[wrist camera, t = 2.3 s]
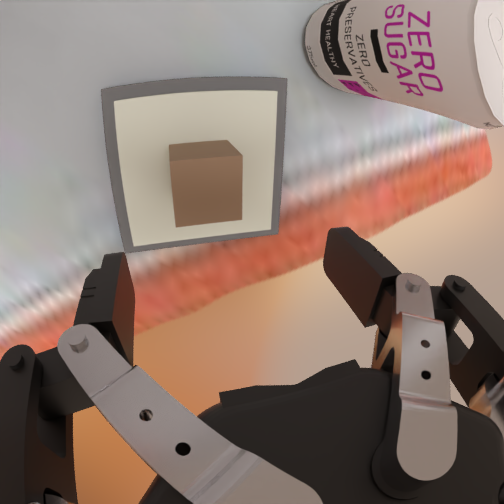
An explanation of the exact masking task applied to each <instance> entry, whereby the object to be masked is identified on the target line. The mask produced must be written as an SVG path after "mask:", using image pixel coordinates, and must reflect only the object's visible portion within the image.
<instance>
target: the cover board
mask: <svg viewBox="0 0 504 504" xmlns="http://www.w3.org/2000/svg"><path fill="white" fill-rule="evenodd" d="M277 93H278V91H268V90H219V91H197V92H182V93H171V94H161V95H152V96H144V97H136V98H129V99H123V100H117V101H114V111H115V123H116V134H117V144H118V153H119V161H120V169H121V176H122V183H123V190H124V196H125V202H126V208H127V214H128V220H129V225H130V230H131V235H132V240H133V245H134V246H141V245H149V244H156V243H164V242H171V241H179V240H187V239H195V238H203V237H211V236H220V235H228V234H236V233H245V232H254V231H262V230H271V218H272V200H273V181H274V161H275V140H276V117H277Z"/></svg>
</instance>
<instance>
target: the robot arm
mask: <svg viewBox="0 0 504 504" xmlns="http://www.w3.org/2000/svg"><path fill="white" fill-rule="evenodd" d="M323 266H324V271H325V273H326V275H327V277H328V278H329V279H330V281H331V282H332V283H333V284H334V286H335V287H336V289H337V290H338V291H339V293H340V294H341V295H342V297H343V298H344V299H345V301H346V302H347V303H348V305H349V306H350V308H351V309H352V310H353V312H354V313H355V314H356V316H357V317H358V319H359V320H360V321H361V323H362V324H363V325H364V327H369V326H372V325H375V324H377V325H378V328H377V331H376V335H375V343H374V351H373V359H372V365H371V368H360V367H359V365H358V363H357V362H356V360H355V359H354V360H351V361H348V362H345V363H341V364H338V365H335V366H331V367H328V368H325V369H323V370H322V371H320V372H318V373H316V374H315V375H313V376H311V377H309V378H307V379H306V380H304V381H302V382H300V383H298V384H295V385H276V386H275V385H274V386H252V387H246V388H241V389H236V390H230V391H225V392H220V393H219V396H220V403H218V404H216V405H214V406H212V407H210V408H208V409H206V410H205V411H204V412H202V413H201V414H199V415H198V416H197V417H196V416H195V415H194V414H193V413H191V412H190V411H189V410H188V409H187V408H185V407H184V406H183V405H182V404H181V403H179V402H178V401H177V400H176V399H175V398H173V397H172V396H171V395H170V394H169V393H168V392H167V391H165V390H164V389H163V388H162V387H161V386H160V385H159V384H158V383H157V382H155V381H154V380H153V379H152V378H151V377H150V376H149V375H148V374H147V373H146V372H144V371H143V370H142V369H141V368H140V367H139V366H137V365H135V366H134V367H133V340H134V313H135V293H134V287H133V283H132V279H131V275H130V271H129V267H128V263H127V259H126V255H125V253H124V252H119V253H112V254H105V255H104V258H103V262H102V266H101V269H93V270H92V272H91V273H90V274H89V275H88V276H87V278H86V279H85V283H84V286H83V290H82V293H81V298H80V301H79V304H78V308H77V312H76V316H75V320H74V325H73V327H71V328H69V329H67V330H66V331H65V332H64V333H63V334H62V335H61V337H60V338H59V341H58V345H57V347H55V348H53V349H50V350H47V351H44V352H41V353H38V354H35V352H34V351H33V349H32V348H31V347H29V346H27V345H17V346H14V347H12V348H10V349H9V350H8V351H7V352H6V353H5V354H4V355H3V357H2V359H1V361H0V504H78V500H77V492H76V483H75V471H74V455H73V413H75V412H77V411H80V410H83V409H86V408H89V407H92V406H96V407H97V409H98V410H99V411H100V412H101V414H102V415H103V416H104V417H105V419H106V420H107V421H108V422H109V423H110V425H111V426H112V427H113V428H114V429H115V431H116V432H117V433H118V434H119V435H120V436H121V437H122V438H123V439H124V441H125V442H126V443H127V444H128V445H129V446H130V447H131V448H132V449H133V450H134V451H135V452H136V453H137V455H138V456H139V457H140V458H141V459H142V460H143V461H144V462H145V463H146V464H147V465H148V466H149V467H150V468H151V469H152V470H153V471H155V472H156V473H157V476H156V477H155V479H154V480H153V482H152V484H151V485H150V487H149V488H148V490H147V491H146V493H145V494H144V496H143V497H142V499H141V501H140V502H139V504H504V320H503V318H502V317H501V316H500V315H499V314H498V313H497V312H496V311H495V310H494V308H493V307H492V306H491V305H490V304H489V303H488V302H487V301H486V300H485V299H484V298H483V297H482V296H481V295H480V294H479V293H478V292H477V291H476V290H475V289H474V287H473V286H472V285H470V283H468V282H467V281H466V280H464V279H463V278H461V277H459V276H455V275H449V276H447V277H446V278H445V279H444V282H443V284H442V286H429V284H428V283H427V282H426V281H425V280H424V279H423V278H422V277H420V276H418V275H415V274H412V273H403V274H402V273H401V272H400V271H399V270H398V269H397V268H396V267H395V266H394V265H393V264H392V263H391V262H390V261H389V260H388V259H387V258H386V257H383V254H381V253H380V252H379V251H377V249H376V248H375V247H374V246H373V245H372V244H371V243H370V242H368V241H366V240H364V239H362V238H361V237H359V236H358V235H357V234H356V233H355V232H354V231H352V230H351V229H350V228H349V227H339V228H331V229H330V230H329V232H328V236H327V242H326V248H325V254H324V259H323ZM460 319H461V320H462V321H463V322H464V323H465V325H466V326H467V327H468V328H469V330H470V331H471V332H472V334H473V337H474V341H473V344H472V346H471V348H470V349H468V348H467V347H466V345H465V344H464V343H463V342H462V340H461V339H460V338H459V337H458V335H457V334H456V333H455V331H454V329H455V327H456V325H457V323H458V321H459V320H460ZM450 379H451V381H452V382H453V384H454V385H455V387H456V388H457V390H458V392H459V393H460V395H461V396H462V398H463V399H464V401H465V402H466V404H467V406H468V407H469V408H468V407H465V406H463V405H460V404H458V403H456V402H454V401H451V397H450Z"/></svg>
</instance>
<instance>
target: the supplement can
mask: <svg viewBox="0 0 504 504" xmlns="http://www.w3.org/2000/svg"><path fill="white" fill-rule="evenodd" d="M305 46H306V50H307V53H308V57H309V61H310V63H311V64H312V66H313V67H314V69H315V70H316V72H317V73H318V75H319V76H320V77H321V78H322V79H323V80H325V81H326V82H327V83H328V84H330V85H331V86H332V87H334V88H337V89H339V90H342V91H345V92H347V93H353V94H358V95H364V96H369V97H373V98H378V99H383V100H387V101H391V102H395V103H400V104H404V105H407V106H411V107H415V108H418V109H422V110H425V111H429V112H432V113H435V114H439V115H442V116H445V117H448V118H451V119H454V120H457V121H460V122H462V123H465V124H468V125H471V126H473V127H476V128H481V129H493V128H498V127H502V126H504V0H337V1H334V2H331V3H328V4H325V5H323V6H322V7H321V8H319V9H318V10H317V11H316V12H315V13H313V15H312V17H311V19H310V21H309V23H308V25H307V27H306V36H305Z"/></svg>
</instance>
